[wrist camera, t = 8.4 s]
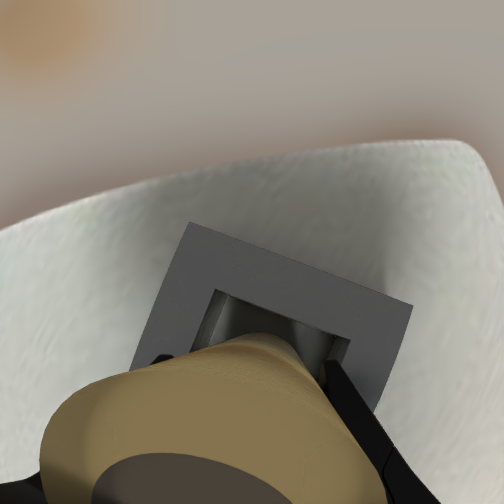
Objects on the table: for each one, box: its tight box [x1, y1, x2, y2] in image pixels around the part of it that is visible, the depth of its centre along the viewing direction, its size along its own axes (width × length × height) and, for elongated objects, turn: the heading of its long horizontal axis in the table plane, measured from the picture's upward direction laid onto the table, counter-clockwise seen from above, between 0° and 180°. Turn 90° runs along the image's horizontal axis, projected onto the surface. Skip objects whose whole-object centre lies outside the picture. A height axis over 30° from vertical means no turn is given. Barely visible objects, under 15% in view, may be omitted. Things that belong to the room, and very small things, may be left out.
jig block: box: [129, 222, 413, 412], centre depth 14 cm, size 11×11×4 cm
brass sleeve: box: [39, 332, 388, 504], centre depth 8 cm, size 4×4×13 cm
